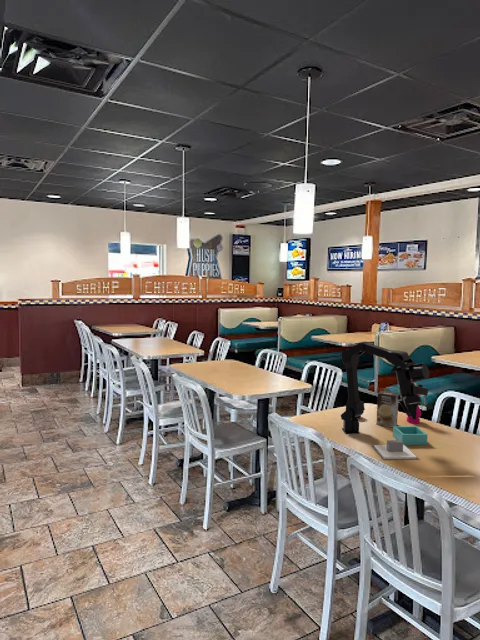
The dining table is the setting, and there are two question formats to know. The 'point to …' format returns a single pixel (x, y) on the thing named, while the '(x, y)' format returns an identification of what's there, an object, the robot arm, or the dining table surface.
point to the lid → (395, 450)
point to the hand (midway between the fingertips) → (412, 417)
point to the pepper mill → (418, 414)
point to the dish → (410, 435)
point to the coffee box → (387, 409)
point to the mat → (392, 459)
